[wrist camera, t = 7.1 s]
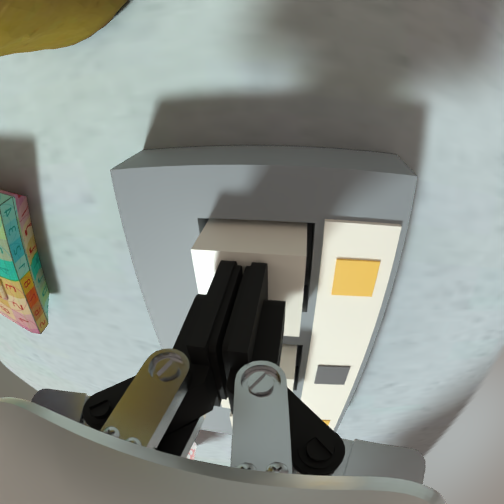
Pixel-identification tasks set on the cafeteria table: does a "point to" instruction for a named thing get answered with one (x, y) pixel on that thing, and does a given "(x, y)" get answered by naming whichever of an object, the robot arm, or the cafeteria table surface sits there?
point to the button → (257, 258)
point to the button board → (276, 209)
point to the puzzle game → (21, 267)
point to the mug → (51, 22)
